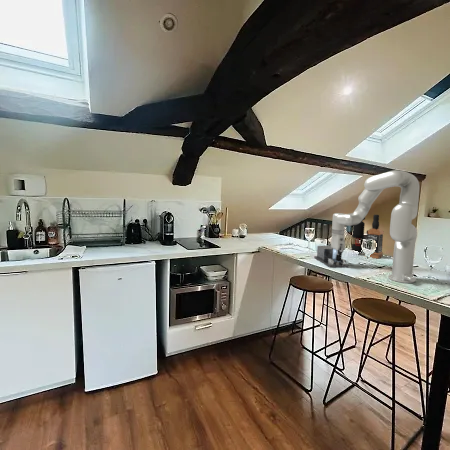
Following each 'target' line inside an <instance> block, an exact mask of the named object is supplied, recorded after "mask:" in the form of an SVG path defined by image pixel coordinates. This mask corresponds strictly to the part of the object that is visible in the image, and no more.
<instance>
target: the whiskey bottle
mask: <svg viewBox="0 0 450 450" xmlns="http://www.w3.org/2000/svg"><path fill="white" fill-rule="evenodd" d="M372 217H373V218H372V224H371V228H369V229H368V230H366V240H367V239H373V240H375V241H376V243H377V247H376V250H375V252H374V253H373V254H371V255H370V257H372V258H371V259H375V258H376V259H375V260H377V259H378V260H379V259H381V258H383V238H384V235H385V232H384V230H382V229H381V228H380V222H379V220H380V214H373V216H372Z"/></svg>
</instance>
